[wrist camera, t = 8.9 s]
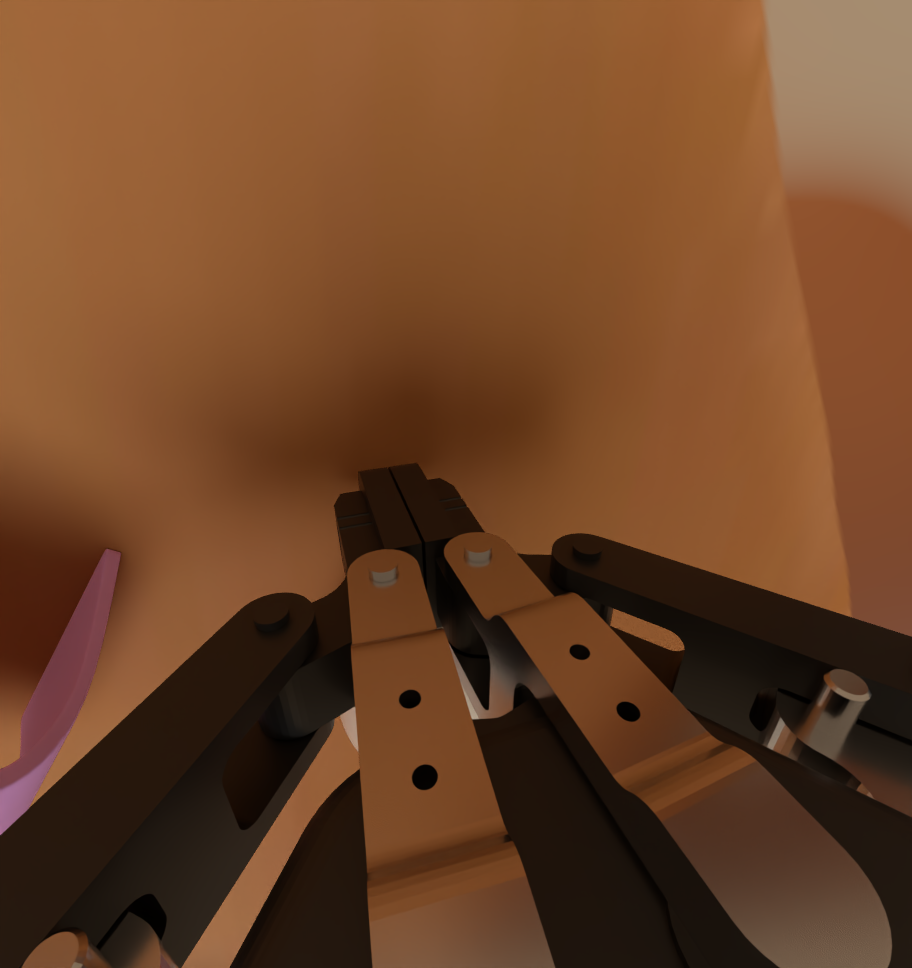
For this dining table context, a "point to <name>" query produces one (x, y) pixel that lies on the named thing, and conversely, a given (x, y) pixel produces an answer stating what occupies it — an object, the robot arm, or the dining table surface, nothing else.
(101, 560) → the toy chair
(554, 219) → the dining table surface
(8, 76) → the dining table surface
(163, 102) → the dining table surface
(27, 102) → the dining table surface
